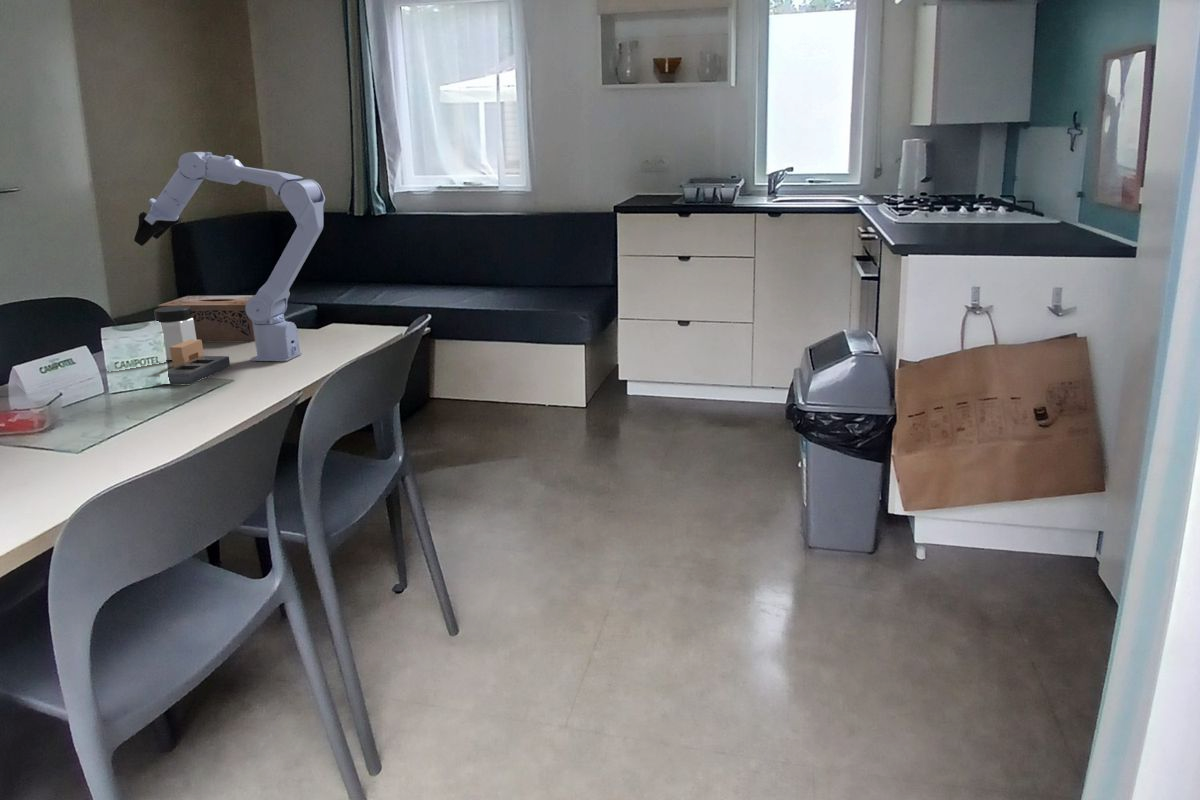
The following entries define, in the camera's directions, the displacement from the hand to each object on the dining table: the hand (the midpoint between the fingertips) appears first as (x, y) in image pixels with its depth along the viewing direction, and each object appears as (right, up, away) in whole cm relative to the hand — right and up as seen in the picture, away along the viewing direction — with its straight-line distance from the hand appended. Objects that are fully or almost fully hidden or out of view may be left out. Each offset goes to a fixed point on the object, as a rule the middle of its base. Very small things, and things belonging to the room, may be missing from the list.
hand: (145, 239), depth 215 cm
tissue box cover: (+5, -21, +33) cm, 39 cm away
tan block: (+11, -30, -1) cm, 32 cm away
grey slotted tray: (+16, -32, -9) cm, 37 cm away
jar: (+4, -27, +9) cm, 29 cm away
